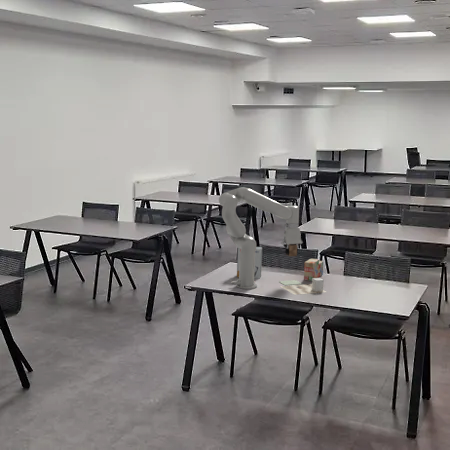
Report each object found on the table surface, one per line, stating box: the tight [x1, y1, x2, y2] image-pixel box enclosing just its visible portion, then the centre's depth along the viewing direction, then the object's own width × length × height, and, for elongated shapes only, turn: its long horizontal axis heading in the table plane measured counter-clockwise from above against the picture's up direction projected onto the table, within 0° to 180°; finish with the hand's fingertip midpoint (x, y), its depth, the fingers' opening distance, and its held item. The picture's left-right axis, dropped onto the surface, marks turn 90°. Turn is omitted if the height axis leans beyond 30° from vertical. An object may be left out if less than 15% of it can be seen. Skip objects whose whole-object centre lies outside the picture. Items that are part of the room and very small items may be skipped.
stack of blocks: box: [303, 258, 324, 282], centre depth 407 cm, size 21×6×12 cm, turn 154°
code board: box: [279, 283, 327, 296], centre depth 376 cm, size 22×20×1 cm
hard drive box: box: [236, 246, 263, 280], centre depth 404 cm, size 16×8×20 cm, turn 77°
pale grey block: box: [311, 277, 324, 292], centre depth 374 cm, size 5×5×7 cm
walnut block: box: [285, 244, 298, 257], centre depth 388 cm, size 5×5×7 cm
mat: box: [278, 279, 303, 286], centre depth 391 cm, size 12×9×1 cm
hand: (291, 253), depth 388 cm, fingers closed on walnut block, 5 cm apart
